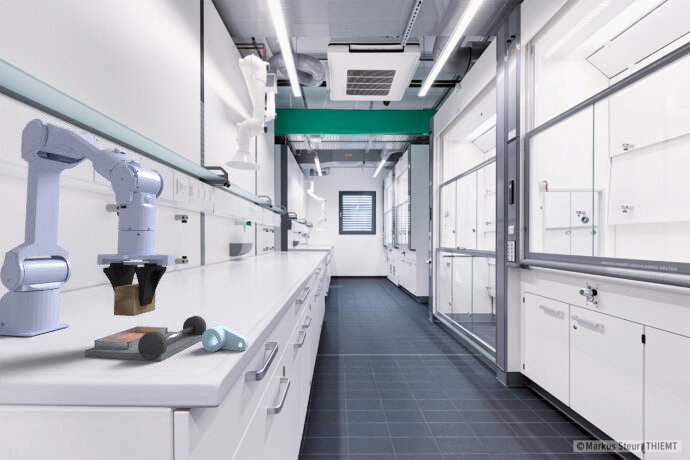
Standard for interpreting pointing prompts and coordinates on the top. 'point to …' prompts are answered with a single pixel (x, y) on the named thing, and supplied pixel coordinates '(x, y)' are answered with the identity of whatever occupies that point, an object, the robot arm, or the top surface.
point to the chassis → (149, 342)
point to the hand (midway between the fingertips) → (134, 304)
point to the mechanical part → (223, 339)
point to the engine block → (130, 301)
